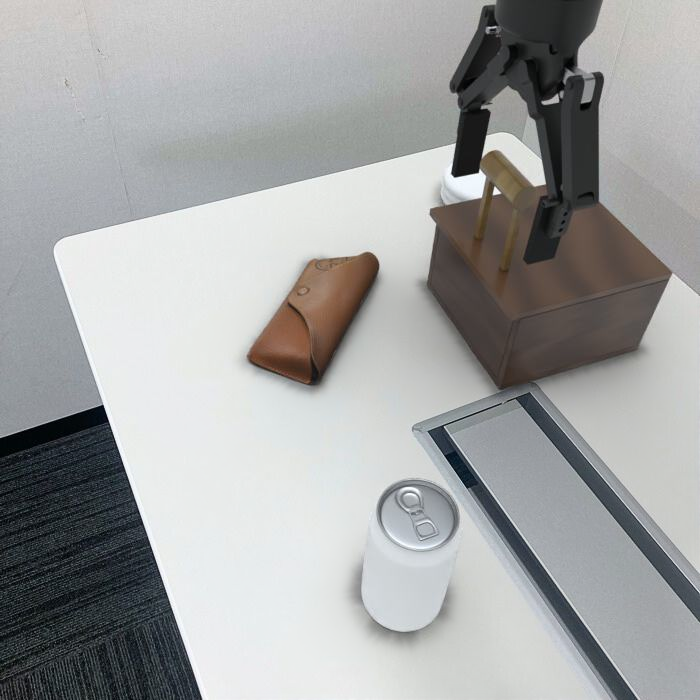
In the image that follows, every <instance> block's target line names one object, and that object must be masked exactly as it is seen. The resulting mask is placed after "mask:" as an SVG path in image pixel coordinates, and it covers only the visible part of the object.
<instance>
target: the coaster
mask: <svg viewBox="0 0 700 700" xmlns="http://www.w3.org/2000/svg"><path fill="white" fill-rule="evenodd" d="M483 157H484V156H482V158H483ZM452 164H453V161H451V163H449V164H448V165H447V166H446V167H445V169H444V171H443V174H442V180H441V187H440V198H441V201H442V203H443V204H444V205H449V204H454V203H459V202H463V201H468V200H473V199H478V198H482V194H483V189H484V184H485V180H486V176H485V175H484V174H483V173H482V171H481V170H479V173H477V174H472V175H467V176H462V177H457V178H454V177H453V176H452V175H451V170H452ZM497 194H501V193H500V191H499V190H498V189H497V188H496V187H494V191H493V195H497Z"/></svg>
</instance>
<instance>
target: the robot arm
mask: <svg viewBox="0 0 700 700" xmlns="http://www.w3.org/2000/svg"><path fill="white" fill-rule="evenodd" d="M603 1H604V0H496V2H495V3H493V4H485V5H483V6H482V8H481V12H480V16H479V21H478V25H477V29H476V31H475V33H474V35H473V37H472V39H471V40H470V42H469V45H468V46H467V47H466V50H465V52H464V54H463V56H462V57H461V60H460V62H459V64H458V66H457V68H456V69H455V72H454V74H453V75H452V77H451V79H450V81H449V86H448V87H449V90H450V93H451V94H456V95H457V106H458V108H459V117H458V121H457V122H458V123H457V129H456V139H455V140H456V141H455V147H454V152H453V159H452V162H453V164H452V170H451V175H452V176H453V177H454V178H457V177H462V176H467V175H472V174H477V173H479V170H480V162H481V160H482V157H483V156H484V155H483V154H484V149H485V144H486V139H487V134H488V129H489V124H490V119H491V116H492V115H491V114H492V111H490V110H489V108H482V107H484V106H490V105H493V102H492V101H493V99H494V98H495V97H497V96H498V95H499V94H500V93H502V91H504V90H505V89H506V88H507V87H508V88H510V89H511V90H513V91H515V92H517V93H518V95H519V97H520V98H521V100H523V101H524V102H525V103H526V108H527V114H528V116H529V118H530V119H532V120H533V121H534V123H535V128H536V133H537V139H538V145H539V152H540V157H541V164H542V170H543V174H544V175H543V176H544V181H545V184H546V188H547V194H548V195H545V196H540V199H539V202H538V206H537V210H536V213H535V217H534V221H533V224H532V228H531V232H530V235H529V239H528V243H527V246H526V250H525V254H524V257H523V260H524V261H525V263H526V264H527V265H529V264H533V263H537V262H541V261H545V260H549V259H553V258H555V254H556V251H557V248H558V245H559V242H560V238H561V236H563V235H565V233H566V232H567V230H568V227H569V224H570V221H571V217H572V214H573V211H577V210H581V209H585V208H590V207H594V206H597V205H598V203H599V202H600V102H601V99H602V93H603V89H604V84H605V76H604V73H602V72H601V71H593V72H586V71H584V70H583V69H581V68H580V67H579V59H578V58H579V50H580V47H581V46H582V45H583V43H584V42H585V41H586V39H588V38H589V37H590V36H591V35H592V34H593V33H594V31H595V29H596V27H597V23H598V20H599V16H600V13H601V8H602V5H603ZM556 96H557V97H558V102H553V103H548V104H544V103H543V102H549V101H550V100H552V99H554V98H555V97H556ZM561 185H562V186H563V188H561Z"/></svg>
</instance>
